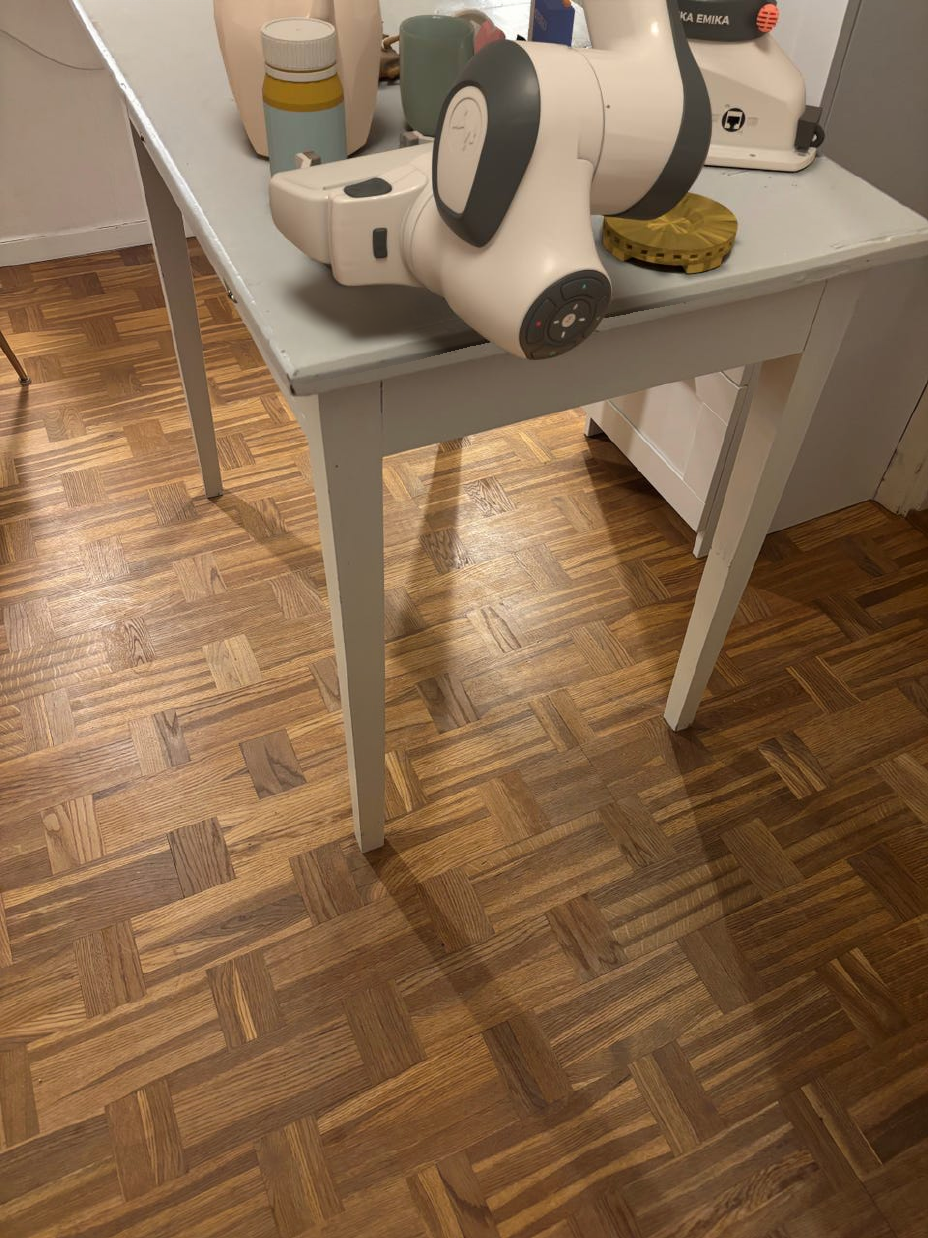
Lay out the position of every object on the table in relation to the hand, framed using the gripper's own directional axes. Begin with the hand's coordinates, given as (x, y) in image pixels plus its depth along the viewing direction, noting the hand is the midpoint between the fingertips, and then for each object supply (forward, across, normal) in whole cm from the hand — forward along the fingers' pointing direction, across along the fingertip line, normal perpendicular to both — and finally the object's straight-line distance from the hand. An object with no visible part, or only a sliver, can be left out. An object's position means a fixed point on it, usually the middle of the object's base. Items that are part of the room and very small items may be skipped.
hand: (356, 151), depth 77 cm
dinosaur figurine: (+33, -17, +4) cm, 38 cm away
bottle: (+10, 0, +9) cm, 13 cm away
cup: (+21, -20, +9) cm, 31 cm away
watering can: (+22, -6, +9) cm, 25 cm away
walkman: (+19, -33, +9) cm, 39 cm away
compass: (-11, -26, +9) cm, 30 cm away
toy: (+35, -33, +5) cm, 48 cm away
